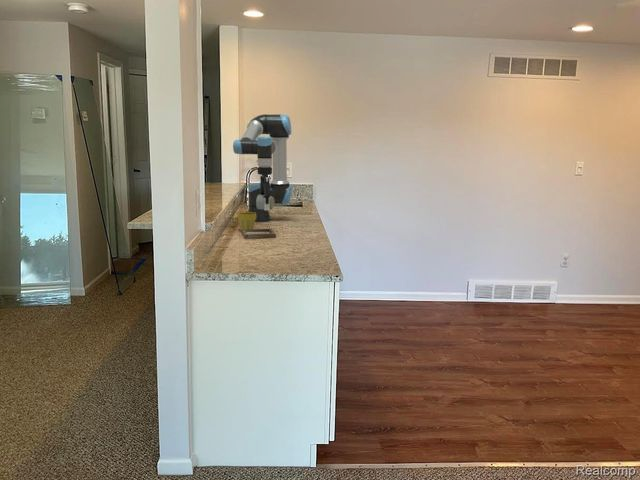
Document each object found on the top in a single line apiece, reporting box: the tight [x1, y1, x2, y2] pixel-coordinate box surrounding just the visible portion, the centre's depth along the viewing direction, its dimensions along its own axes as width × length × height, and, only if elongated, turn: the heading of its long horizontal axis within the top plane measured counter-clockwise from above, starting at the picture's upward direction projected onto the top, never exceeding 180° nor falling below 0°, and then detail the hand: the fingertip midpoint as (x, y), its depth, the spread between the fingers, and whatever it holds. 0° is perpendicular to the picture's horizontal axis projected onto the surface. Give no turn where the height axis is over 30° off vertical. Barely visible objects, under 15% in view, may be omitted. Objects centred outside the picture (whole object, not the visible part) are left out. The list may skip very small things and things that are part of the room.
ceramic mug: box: [256, 195, 275, 211], centre depth 273 cm, size 11×8×8 cm
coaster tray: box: [241, 228, 277, 240], centre depth 274 cm, size 16×16×2 cm
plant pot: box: [237, 211, 256, 232], centre depth 289 cm, size 10×10×10 cm
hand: (265, 208), depth 273 cm, fingers closed on ceramic mug, 11 cm apart
